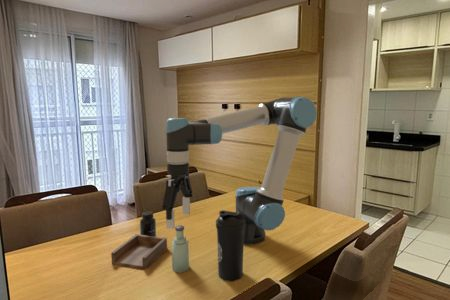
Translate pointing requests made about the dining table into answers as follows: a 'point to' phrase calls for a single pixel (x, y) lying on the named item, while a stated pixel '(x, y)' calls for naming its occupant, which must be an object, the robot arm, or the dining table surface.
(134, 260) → the u rest
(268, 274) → the dining table surface
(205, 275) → the dining table surface
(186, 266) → the bottle
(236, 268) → the water bottle
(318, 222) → the dining table surface
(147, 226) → the supplement bottle
